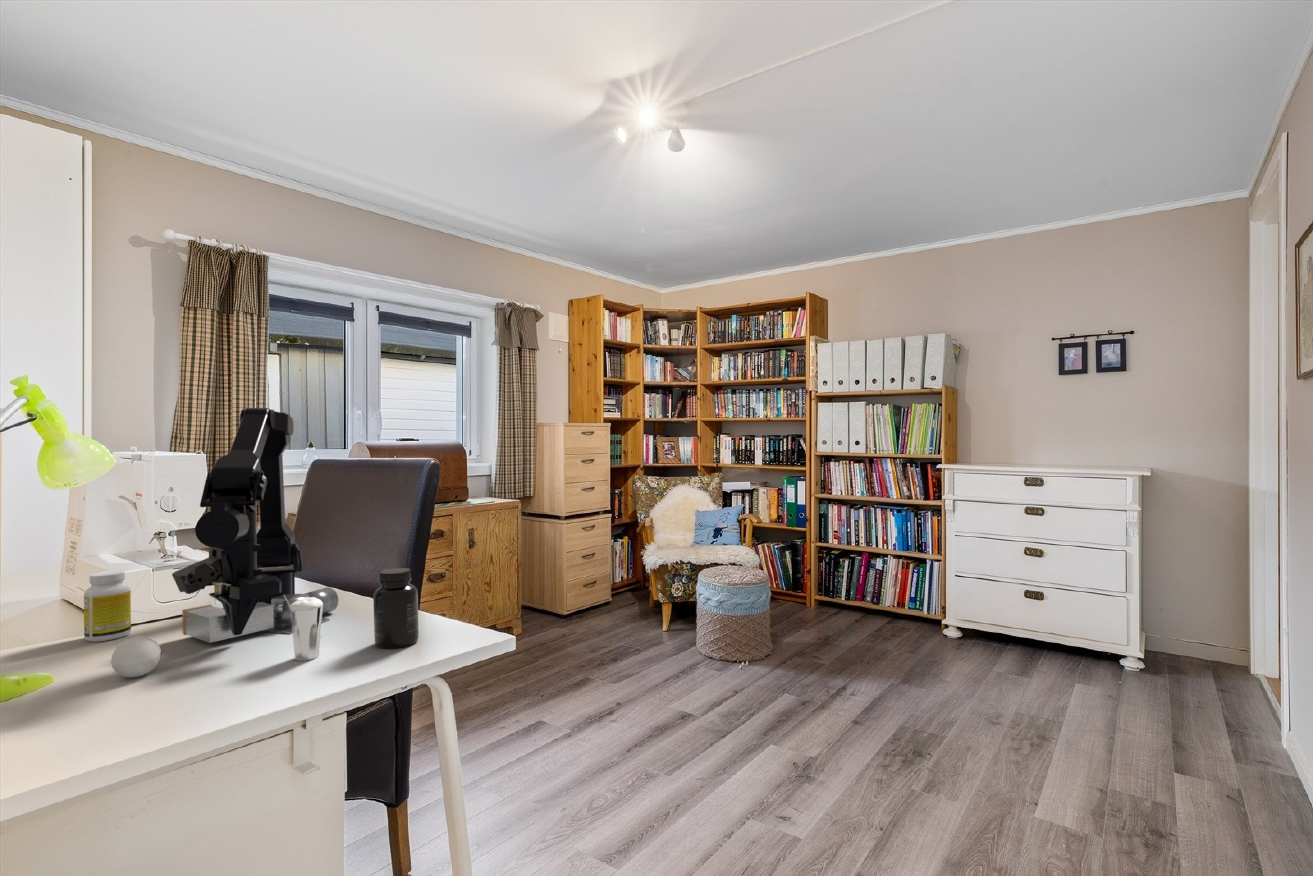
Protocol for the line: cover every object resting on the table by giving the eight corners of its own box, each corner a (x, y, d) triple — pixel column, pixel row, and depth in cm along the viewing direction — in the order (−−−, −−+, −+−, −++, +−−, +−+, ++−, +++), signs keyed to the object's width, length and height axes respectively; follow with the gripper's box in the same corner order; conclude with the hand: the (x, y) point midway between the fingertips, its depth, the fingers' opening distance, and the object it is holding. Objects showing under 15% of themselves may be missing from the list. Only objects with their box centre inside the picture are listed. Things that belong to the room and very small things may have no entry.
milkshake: (287, 655, 101) (286, 591, 102) (325, 651, 103) (324, 588, 103) (281, 665, 97) (280, 598, 97) (321, 660, 99) (320, 594, 99)
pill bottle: (140, 632, 115) (140, 569, 115) (107, 643, 109) (107, 577, 109) (108, 631, 116) (108, 569, 116) (74, 642, 109) (73, 576, 109)
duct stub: (309, 610, 128) (309, 585, 128) (347, 614, 126) (347, 588, 126) (249, 630, 115) (249, 602, 115) (290, 634, 113) (289, 605, 113)
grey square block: (246, 620, 119) (245, 597, 119) (273, 628, 114) (273, 604, 114) (182, 634, 111) (182, 609, 111) (209, 643, 106) (208, 617, 106)
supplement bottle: (408, 634, 112) (407, 564, 112) (425, 643, 107) (425, 570, 107) (367, 643, 107) (366, 570, 107) (383, 652, 102) (383, 576, 103)
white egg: (162, 677, 93) (162, 637, 93) (110, 687, 89) (110, 646, 89) (160, 663, 99) (160, 626, 99) (112, 671, 95) (111, 633, 95)
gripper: (157, 542, 107) (157, 638, 106) (203, 550, 96) (204, 657, 95) (232, 534, 116) (233, 623, 115) (282, 541, 105) (283, 638, 104)
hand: (237, 634), depth 107 cm, fingers closed
